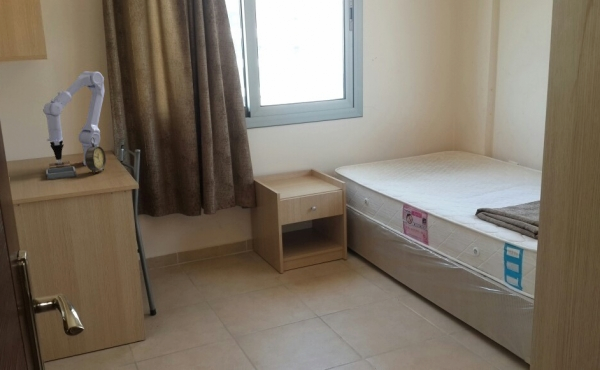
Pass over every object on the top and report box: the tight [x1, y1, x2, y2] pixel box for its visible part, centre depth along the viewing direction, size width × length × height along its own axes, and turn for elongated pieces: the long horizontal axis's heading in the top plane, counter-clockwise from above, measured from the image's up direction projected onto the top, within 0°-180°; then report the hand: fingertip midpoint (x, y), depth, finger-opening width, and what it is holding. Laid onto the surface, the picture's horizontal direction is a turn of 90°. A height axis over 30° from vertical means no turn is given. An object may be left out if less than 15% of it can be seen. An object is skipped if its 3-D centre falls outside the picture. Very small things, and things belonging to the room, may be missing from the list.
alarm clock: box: [85, 137, 107, 175], centre depth 285 cm, size 11×5×16 cm, turn 168°
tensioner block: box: [48, 160, 71, 169], centre depth 293 cm, size 9×9×3 cm
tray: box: [45, 165, 77, 181], centre depth 282 cm, size 11×12×2 cm
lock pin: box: [55, 158, 63, 165], centre depth 292 cm, size 3×3×9 cm
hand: (58, 158), depth 291 cm, fingers open, 7 cm apart
